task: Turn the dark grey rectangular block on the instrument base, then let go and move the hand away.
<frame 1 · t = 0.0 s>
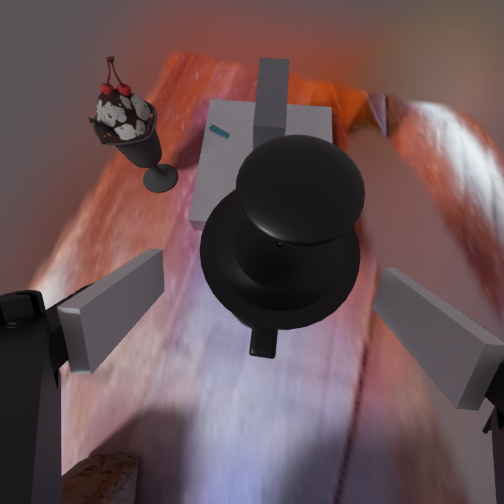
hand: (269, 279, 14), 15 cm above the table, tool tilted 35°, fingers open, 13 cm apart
french press: (263, 295, 29), on the table
dark grey rectangular block: (270, 113, 28), point 8 cm above the table, hinge at 0.0°
instrument base: (265, 172, 35), on the table
sundae: (161, 178, 34), on the table
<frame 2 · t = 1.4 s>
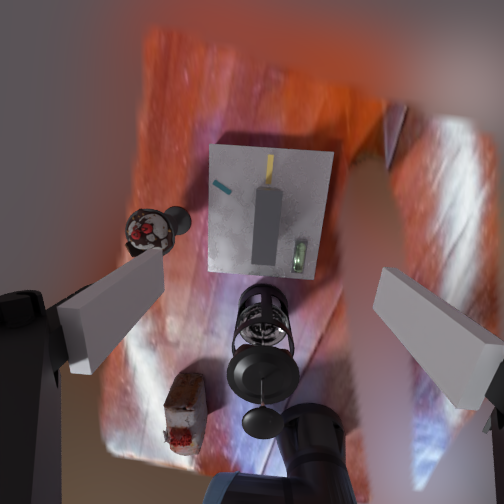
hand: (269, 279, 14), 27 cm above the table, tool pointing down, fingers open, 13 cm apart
food item: (192, 395, 53), on the table
french press: (262, 307, 45), on the table
dark grey rectangular block: (267, 206, 31), point 8 cm above the table, hinge at 0.0°
instrument base: (265, 214, 40), on the table
sundae: (177, 220, 41), on the table
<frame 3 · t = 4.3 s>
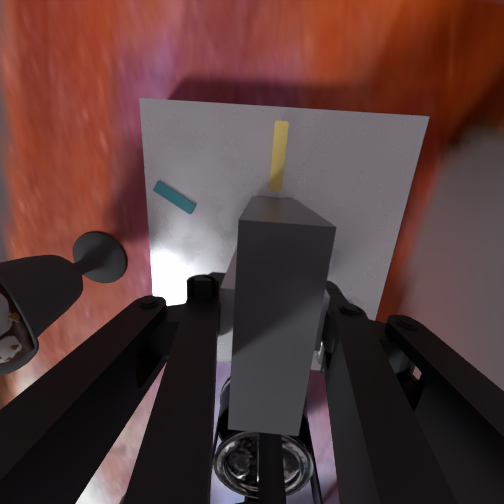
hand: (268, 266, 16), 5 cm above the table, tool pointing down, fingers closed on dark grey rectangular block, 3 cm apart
french press: (262, 401, 26), on the table
dark grey rectangular block: (273, 249, 12), point 8 cm above the table, hinge at -0.1°, touching gripper
instrument base: (267, 247, 20), on the table
sundae: (101, 256, 22), on the table
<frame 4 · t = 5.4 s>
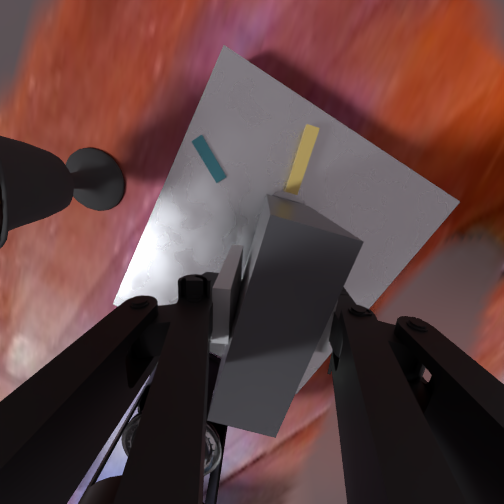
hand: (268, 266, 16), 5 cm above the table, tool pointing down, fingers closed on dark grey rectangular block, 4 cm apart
french press: (191, 384, 26), on the table
dark grey rectangular block: (282, 251, 12), point 8 cm above the table, hinge at 14.0°, touching gripper
instrument base: (267, 246, 20), on the table
sundae: (97, 179, 20), on the table
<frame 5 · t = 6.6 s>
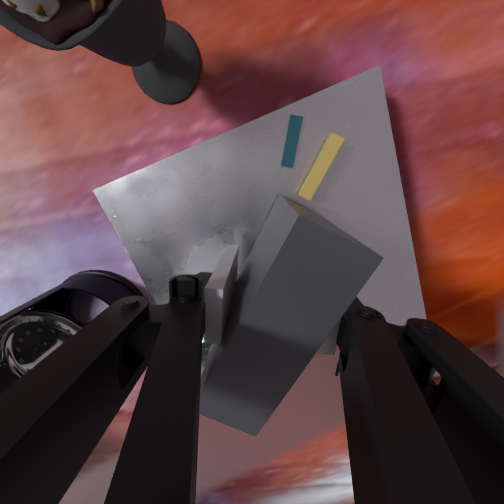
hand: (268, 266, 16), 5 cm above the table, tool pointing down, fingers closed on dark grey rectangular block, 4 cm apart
french press: (102, 313, 24), on the table
dark grey rectangular block: (290, 253, 12), point 8 cm above the table, hinge at 43.5°, touching gripper
instrument base: (267, 246, 20), on the table
sundae: (167, 64, 17), on the table
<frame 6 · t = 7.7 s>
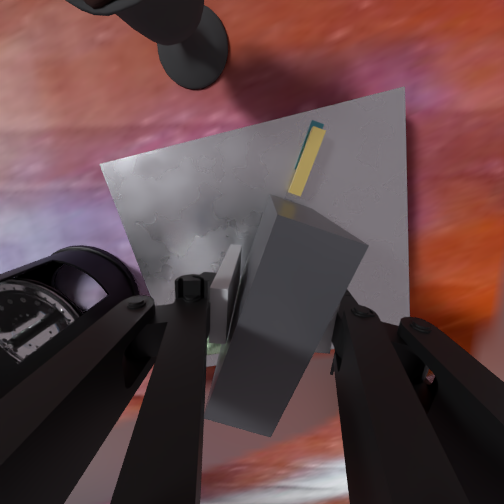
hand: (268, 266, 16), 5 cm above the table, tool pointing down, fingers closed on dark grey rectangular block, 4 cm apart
french press: (88, 291, 23), on the table
dark grey rectangular block: (284, 251, 12), point 8 cm above the table, hinge at 59.4°, touching gripper
instrument base: (267, 247, 20), on the table
sundae: (194, 49, 16), on the table
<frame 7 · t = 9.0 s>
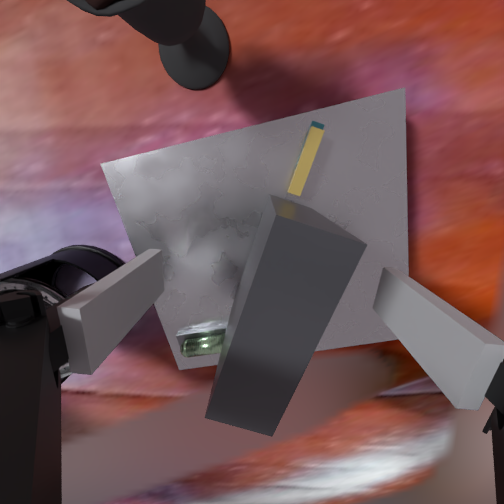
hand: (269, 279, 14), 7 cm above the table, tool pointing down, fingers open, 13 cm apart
french press: (89, 290, 23), on the table
dark grey rectangular block: (284, 251, 12), point 8 cm above the table, hinge at 60.2°
instrument base: (267, 247, 20), on the table
sundae: (195, 49, 16), on the table
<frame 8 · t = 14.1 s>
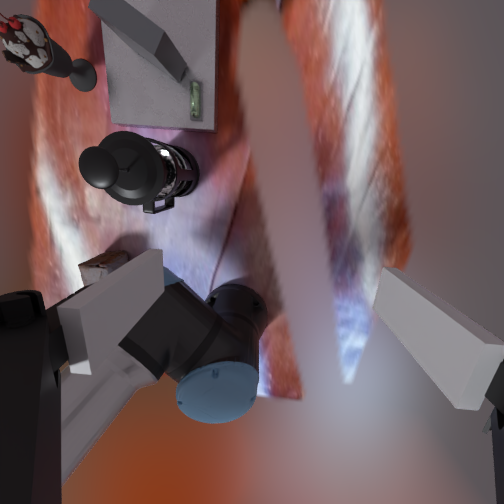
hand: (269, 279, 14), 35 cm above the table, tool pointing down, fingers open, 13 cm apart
food item: (121, 278, 54), on the table
french press: (176, 175, 46), on the table
dark grey rectangular block: (129, 28, 33), point 8 cm above the table, hinge at 60.2°
instrument base: (166, 65, 40), on the table
sundae: (83, 75, 42), on the table
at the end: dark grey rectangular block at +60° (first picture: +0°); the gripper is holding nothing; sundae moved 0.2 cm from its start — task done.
